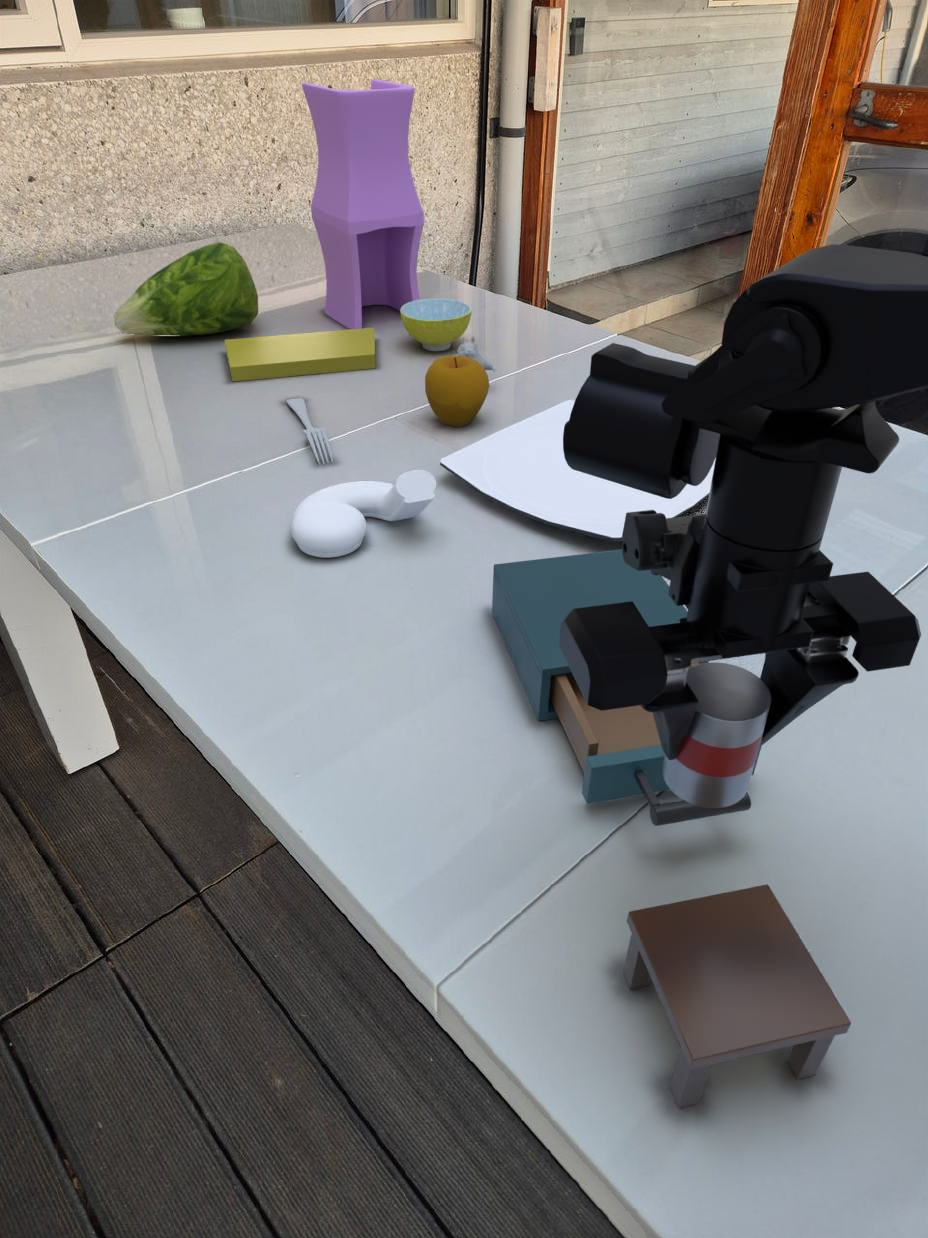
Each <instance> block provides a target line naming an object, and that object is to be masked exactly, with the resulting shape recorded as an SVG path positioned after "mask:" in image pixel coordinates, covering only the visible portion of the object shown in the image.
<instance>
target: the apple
mask: <svg viewBox="0 0 928 1238" xmlns="http://www.w3.org/2000/svg"><path fill="white" fill-rule="evenodd" d="M489 389H490V380H489V375H488V373H487V370H485V369H484V368H483V367H482V366H481V364H480V363H479V362H478V361H476V360H474V359H471V358H468V357H465V356H456V355H442V356H440V357H438V358H437V359H435V360H433V361H432V363H431V364H430V365H429V367H428V369H427V371H426V373H425V376H424V391H425V395H426V398H427V402H428V404H429V407H430V408H431V410H432V412H433V414H434V415H435V417H436V418H437V419H438V421H439V422H441V423H442V424H444V425H447V426H451V427H463V426H465V425H468V424H469V423H471V422H472V421H473V420H474V418H476V417H477V415H478V413H479V412H480V410H481V408H482V406H483V405H484V403H485V401H486V399H487V396H488V393H489Z"/></svg>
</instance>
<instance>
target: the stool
mask: <svg viewBox="0 0 928 1238" xmlns="http://www.w3.org/2000/svg"><path fill="white" fill-rule="evenodd" d="M626 922H627V926H628V928H629V930H630V933H631V934H630V937H629V938H630V939H629V942H628V949H627V953H626V957H625V962H624V967H623V976H624V978H625V981H626V983H627V986H628V988H629V990H635V989H639V988H645V987H648V986H649V984H650V983H649V982H650V980H651V981H652V984H653V986H654V988H655V991H656V994H657V995H658V998H659V1000H660V1003H661V1004H662V1007H663V1009H664V1012H665V1014H666V1017H667V1019H668V1021H669V1023H670V1025H671V1028H672V1030H673V1033H674V1035H675V1037H676V1039H677V1041H678V1044H679V1046H680V1049H681V1050H680V1053H679V1056H678V1059H677V1062H676V1066H675V1068H674V1073H673V1076H672V1079H671V1082H670V1086H669V1089H670V1092H671V1095H672V1097H673V1099H674V1102H675V1104H676V1106H677V1109H678V1110H679V1109H684V1108H687V1107H692V1106H696V1105H698V1104H699V1102H700V1100H701V1097H702V1094H703V1091H704V1088H705V1085H706V1083H707V1080H708V1076H709V1073H710V1072H711V1068H712V1065H716V1064H720V1063H724V1062H728V1061H733V1060H737V1059H740V1058H746V1057H749V1056H755V1055H758V1054H762V1053H766V1052H770V1051H776V1050H780V1049H783V1048H788V1047H791V1049H790V1052H789V1053H788V1056H787V1057H786V1062H787V1063H788V1065H789V1067H790V1069H791V1070H792V1073H793V1075H794V1077H795V1079H796V1080H801V1079H806V1078H810V1077H814V1076H816V1075H817V1073H818V1071H819V1069H820V1067H821V1065H822V1063H823V1060H824V1059H825V1057H826V1054H827V1053H828V1051H829V1049H830V1047H831V1044H832V1042H833V1040H834V1038H835V1036H838V1035H843V1034H847V1033H848V1031H849V1029H850V1027H851V1026H852V1022H851V1020H850V1019H849V1016H848V1015H847V1013H846V1012H845V1009H844V1008H843V1007H842V1005H841V1004H840V1001H839V1000H838V999H837V997H836V996H835V994H834V992H833V990H832V988H831V987H830V985H829V983H828V981H827V980H826V978H825V977H824V975H823V973H822V972H821V970H820V968H819V967H818V965H817V963H816V962H815V960H814V958H813V956H812V955H811V954H810V952H809V951H808V948H807V946H805V944H804V941H803V940H802V939H801V937H800V935H799V933H798V932H797V930H796V929H795V927H794V925H793V923H792V922H791V920H790V919H789V917H788V915H787V913H786V912H785V910H784V908H783V907H782V905H781V903H780V902H779V900H778V899H777V897H776V895H775V893H774V892H773V889H772V888H771V887H770V885H769V884H762V885H758V886H756V885H755V886H752V887H747V888H741V889H737V890H731V891H726V892H722V893H721V892H720V893H717V894H712V895H706V896H700V897H695V898H691V899H686V900H680V901H675V902H670V903H665V904H661V905H654V906H649V907H645V908H641V909H635V910H634V909H633V910H630V911H628V912H627V918H626Z"/></svg>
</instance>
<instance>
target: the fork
mask: <svg viewBox="0 0 928 1238" xmlns="http://www.w3.org/2000/svg"><path fill="white" fill-rule="evenodd" d="M285 402H286V404H287V405H288V406H289V407H290V408H291V409H292V410H293V411H294V412H295V414H296V415H297V417H298V418H299V419H300V421H301V422H302V423H303V425H304V427H305V428H306V429H302V432H304V434H305V435H306V438H307V439H308V442H309V444H310V446H311V449H312V451H313V454H314V456H315V459H316V461H317V463H318V465H319V466H321V463H320V459H321V461H322V464H323V465H326V464H325V461H326V463H327V464H330V462H329V458H330V460H331V463H332V464H333V463H334V460H333V454H332V449H331V444H330V439H329V435H328V432H327V428H325V427H324V426H322V427H320V426H319V427H314V426H313V424H312V422H311V420H310V416H309V413H308V409H307V404H306V401H305V400H304V399H303V398H301V397H298V398H297V397H296V398H290V399H287V400H286V401H285ZM325 445H326V446H325ZM316 448H317V449H316ZM326 448H327V449H326ZM317 450H318V451H317ZM322 451H323V452H322ZM327 451H328V453H327ZM318 453H319V456H320V459H319V456H318ZM323 454H324V455H323ZM328 454H329V458H328ZM324 457H325V460H324Z"/></svg>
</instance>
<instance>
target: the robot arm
mask: <svg viewBox="0 0 928 1238" xmlns="http://www.w3.org/2000/svg"><path fill="white" fill-rule="evenodd" d="M721 337H722V338H721V345H720V346H719V347H718V348H717V349H715V350H714V351H713V352H712V354H710V355H709V356H707V357H706V358H704V359H702V360H701V361H700V362H698V363H697V364H696V365H694V364H689V363H685V362H681V361H677V360H672V359H668V358H664V357H658V356H655V355H651V354H647V353H644V352H642V351H640V350H638V349H636V348H635V347H631V346H628V345H625V344H624V345H623V344H619V343H615V342H612V343H610V344H609V345H607V346H605V347H603V348H602V349H599V350H598V351H596V352H594V353H593V354H591V356H590V357H591V358H590V367H589V368H590V369H589V375H588V376H587V378H586V380H585V381H584V383H583V384H582V386H581V387H580V390H579V391H578V394H577V395H576V398H575V399H574V401H575V403H574V405H573V408H572V411H571V415H570V419H569V421H567V422H566V424H565V426H564V433H563V451H564V457H565V460H566V462H567V464H568V466H569V467H570V468H572V469H573V470H576V471H579V472H582V473H586V474H589V475H592V476H595V477H599V478H602V479H605V480H608V481H612V482H615V483H618V484H621V485H624V486H628V487H631V488H634V489H637V490H641V491H644V492H647V493H650V494H653V495H657V496H660V497H663V498H667V499H672V498H674V497H676V496H677V495H678V494H679V493H680V492H681V491H682V490H683V489H684V487H685V486H686V485H687V484H689V485H692V486H698V485H699V484H701V483H702V481H703V480H704V479H705V478H706V476H707V475H708V473H709V471H710V469H711V467H712V465H713V463H714V461H715V465H714V471H713V476H712V482H711V487H710V493H709V496H708V497H707V498H708V500H707V504H706V510H705V513H703V514H694V515H693V514H692V515H684V516H683V515H682V516H678V517H674V518H666V516H665V515H664V514H662V513H657V512H656V511H654V510H646V511H637V512H627V513H626V517H625V523H624V528H623V533H622V540H621V550H622V555H623V559H624V562H625V563H626V564H627V565H629V566H631V567H633V568H634V569H636V570H638V571H643V570H651V573H652V574H653V575H661V576H662V577H663V579H666V580H668V581H669V593H668V595H669V596H670V597H671V599H672V600H673V602H674V603H675V604H676V606H681V605H683V606H684V607H685V609H686V610H687V618H681V619H679V620H678V623H675V624H667V625H659V626H652V627H649V626H648V625H647V623H646V622H645V620H644V618H643V617H642V615H641V614H640V612H639V611H638V609H637V608H636V606H635V604H634V603H633V601H630V602H622V603H614V604H606V605H598V606H590V607H582V608H575V609H573V610H571V611H569V612H568V613H567V615H566V616H565V618H564V619H563V621H562V622H561V627H560V639H559V647H560V649H561V651H562V653H563V655H564V657H565V659H566V662H567V664H568V666H569V668H570V670H571V672H572V674H573V676H574V678H575V680H576V682H577V684H578V686H579V688H580V690H581V692H582V694H583V696H584V699H585V701H586V703H587V705H589V706H591V707H594V708H596V709H598V710H601V711H603V710H610V709H617V708H624V707H631V706H637V705H640V706H641V707H642V708H643V709H644V710H646V711H648V712H653V716H654V720H655V723H656V727H657V731H658V734H659V738H660V742H661V745H662V749H663V751H664V753H665V755H666V756H667V758H668V760H674V759H676V757H677V755H678V754H679V752H680V751H681V749H682V746H683V744H684V741H685V738H686V735H687V733H688V730H689V727H690V724H691V721H692V719H693V716H694V713H695V711H696V708H697V705H698V702H699V700H698V699H697V697H696V696H695V694H694V692H693V691H692V689H691V688H690V686H689V685H688V683H687V682H686V679H687V674H688V671H689V669H690V666H691V664H692V663H699V662H706V661H709V662H712V661H718V660H726V659H734V658H741V657H748V656H754V655H760V654H761V655H762V654H765V655H764V662H763V665H762V669H761V673H760V677H759V678H760V679H761V680H762V681H763V682H764V683H765V684H766V686H767V687H768V689H769V691H770V694H771V705H770V709H769V713H768V716H767V720H766V724H765V728H764V732H763V736H762V740H761V743H760V746H762V747H763V745H765V744H766V743H768V741H770V740H771V739H772V738H774V737H775V736H776V735H777V734H778V733H780V732H781V731H782V730H784V729H785V728H786V727H787V726H789V724H791V723H792V722H793V721H794V720H796V719H797V718H798V717H800V716H801V715H802V714H804V713H805V712H806V711H808V710H809V709H811V708H812V707H814V706H815V705H817V704H818V703H819V702H821V701H822V700H824V699H825V698H826V697H828V696H829V695H831V694H832V693H834V692H835V691H837V690H838V689H839V688H841V687H842V686H845V685H848V684H854V683H855V682H856V681H857V679H858V677H859V675H860V672H859V670H858V668H856V666H855V665H854V664H853V663H852V662H851V660H850V659H848V658H847V654H848V650H849V647H848V645H849V642H850V638H852V639H853V640H854V641H855V645H854V648H853V651H852V654H851V657H852V658H853V659H854V660H855V661H856V662H857V663H858V664H859V665H860V666H861V667H862V668H863V669H864V671H866V672H867V673H868V672H875V671H880V670H881V671H882V670H887V669H894V668H895V669H896V668H902V667H903V668H904V667H909V666H910V665H911V663H912V660H913V658H914V655H915V653H916V650H917V648H918V645H919V642H920V639H921V637H922V631H921V627H920V623H919V619H918V617H917V616H916V615H915V614H914V613H913V612H912V611H911V610H910V609H908V607H907V606H905V605H904V604H903V602H901V600H899V599H898V598H897V597H896V596H895V595H894V594H892V593H891V591H890V590H889V589H887V588H886V587H885V585H883V584H882V583H881V582H880V581H879V580H878V579H877V578H876V577H875V576H874V575H873V574H871V572H870V571H862V572H861V571H860V572H853V573H845V574H837V575H831V573H832V570H833V567H834V562H832V561H831V560H830V559H829V558H828V557H827V556H826V554H824V552H822V551H821V550H820V548H821V546H822V542H823V538H824V535H825V531H826V528H827V523H828V521H829V516H830V513H831V510H832V506H833V502H834V498H835V494H836V490H837V488H838V484H839V481H840V478H841V477H840V476H841V473H842V469H843V468H845V469H849V470H853V471H856V472H861V473H864V474H870V475H871V474H874V473H875V472H877V471H878V470H879V469H880V467H881V466H882V465H883V464H884V462H885V461H886V460H887V458H888V457H889V456H890V455H891V454H892V453H893V451H894V450H895V448H896V447H897V446H898V444H899V442H900V437H899V435H898V433H897V432H896V431H895V430H894V429H893V427H892V426H891V425H890V424H889V423H888V421H886V419H884V418H883V417H882V415H881V414H880V413H879V411H878V408H877V406H876V402H878V401H881V400H886V399H890V398H893V397H897V396H901V395H905V394H906V395H907V394H909V393H913V392H918V391H921V390H925V389H928V256H925V255H921V254H918V253H913V252H907V251H901V250H891V249H883V248H873V247H867V246H856V245H847V244H828V245H824V246H823V245H822V246H820V247H819V246H818V247H815V248H811V249H809V250H807V251H806V252H803V253H802V254H800V255H797V256H796V257H794V258H793V259H791V260H789V261H788V262H786V263H784V264H783V265H781V266H779V267H777V268H776V269H775V270H773V271H772V272H770V273H768V274H766V275H764V276H763V277H761V278H760V279H758V280H757V281H754V282H753V283H751V284H750V285H749V286H747V288H746V289H745V290H743V292H742V293H741V294H740V295H739V296H738V297H737V298H736V300H735V301H733V303H732V305H731V307H730V310H729V312H728V314H727V316H726V318H725V320H724V323H723V330H722V336H721ZM850 406H851V407H850ZM842 407H848V408H844V409H838V408H842ZM715 458H716V460H715Z"/></svg>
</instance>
